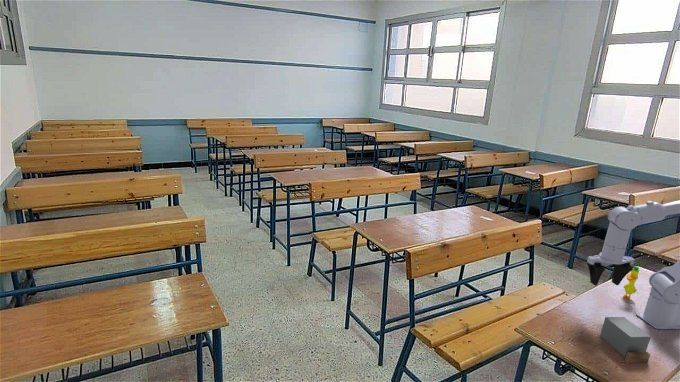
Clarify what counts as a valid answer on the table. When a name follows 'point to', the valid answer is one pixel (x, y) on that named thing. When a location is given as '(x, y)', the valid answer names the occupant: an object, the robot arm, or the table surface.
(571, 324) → the table surface
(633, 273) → the toy figure
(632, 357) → the brown block
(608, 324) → the gray block
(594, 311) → the table surface
